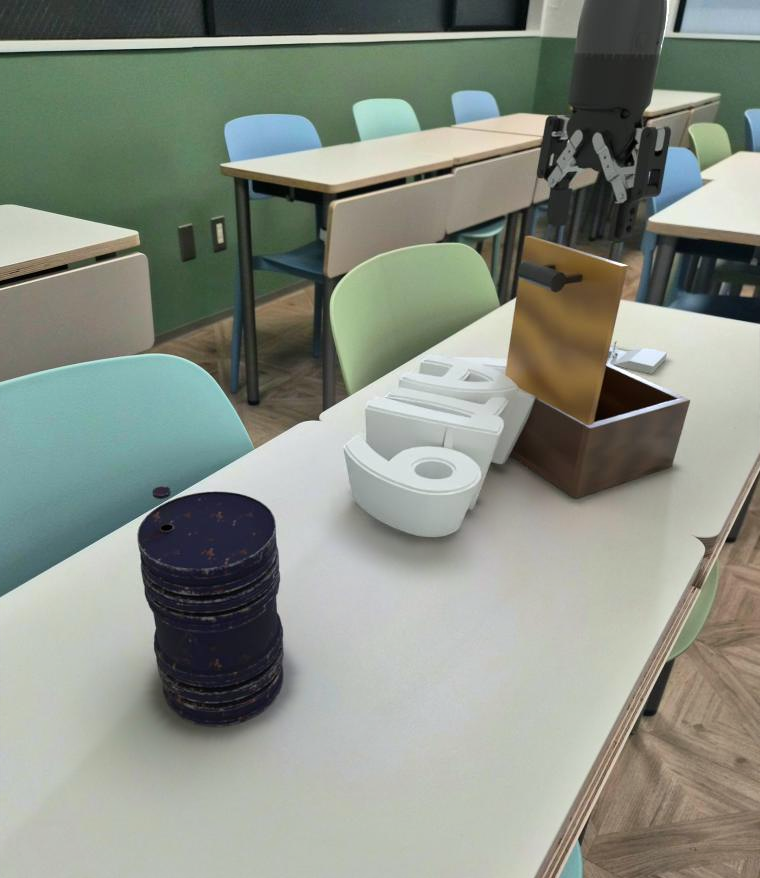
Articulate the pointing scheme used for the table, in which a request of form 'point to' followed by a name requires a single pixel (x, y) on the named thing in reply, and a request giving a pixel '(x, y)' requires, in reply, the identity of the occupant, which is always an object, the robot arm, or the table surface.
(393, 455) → the white letter sign
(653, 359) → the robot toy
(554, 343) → the lid
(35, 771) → the table surface
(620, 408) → the brown wooden box
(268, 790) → the table surface
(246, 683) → the navy speckled cylinder
